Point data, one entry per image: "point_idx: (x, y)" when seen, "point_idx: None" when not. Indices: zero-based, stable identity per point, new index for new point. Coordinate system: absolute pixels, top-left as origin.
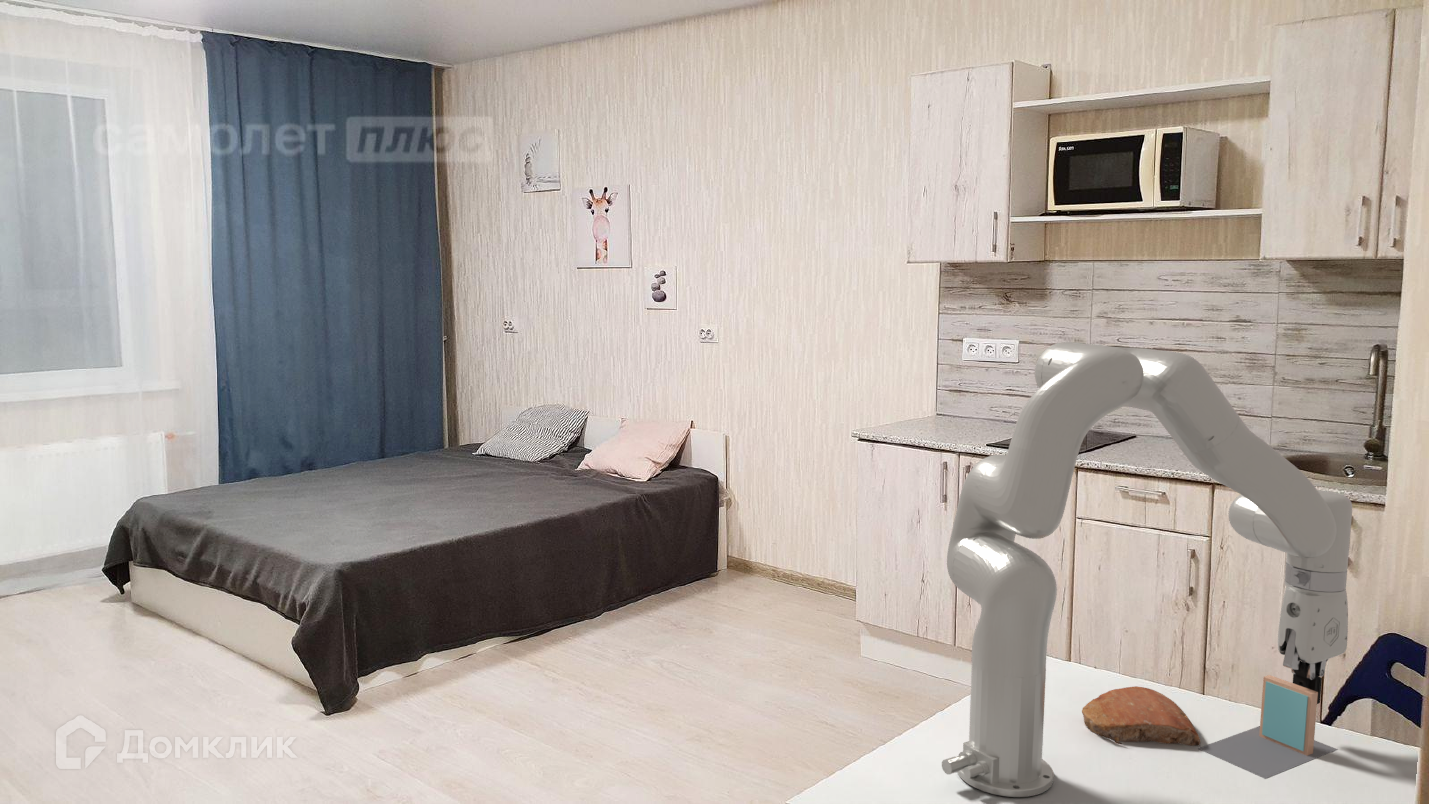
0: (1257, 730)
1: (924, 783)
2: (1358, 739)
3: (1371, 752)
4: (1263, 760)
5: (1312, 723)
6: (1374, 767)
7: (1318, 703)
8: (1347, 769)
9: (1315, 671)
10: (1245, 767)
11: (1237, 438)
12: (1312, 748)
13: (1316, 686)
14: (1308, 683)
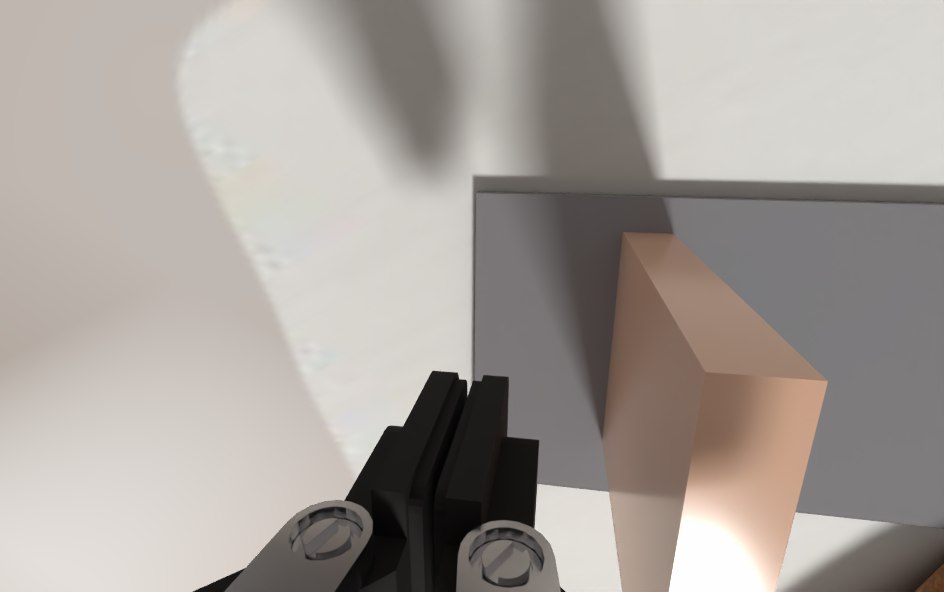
0: (594, 471)
1: None
2: (273, 209)
3: (342, 106)
4: (914, 319)
5: (684, 277)
6: (484, 3)
7: (444, 372)
8: (623, 62)
9: (379, 579)
10: None
11: None
12: (634, 237)
13: (469, 453)
14: (509, 513)
